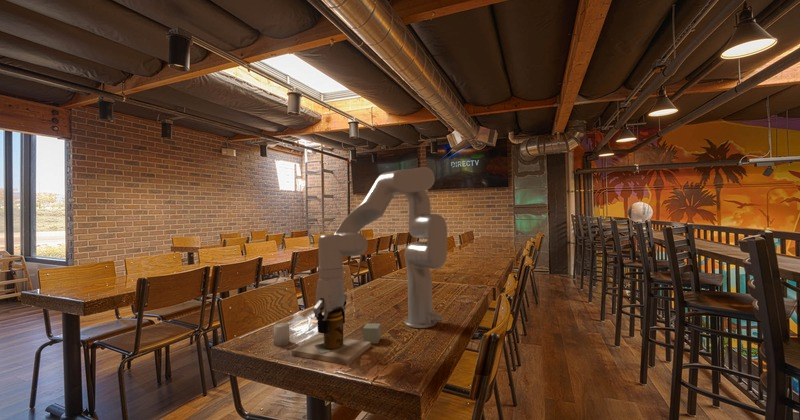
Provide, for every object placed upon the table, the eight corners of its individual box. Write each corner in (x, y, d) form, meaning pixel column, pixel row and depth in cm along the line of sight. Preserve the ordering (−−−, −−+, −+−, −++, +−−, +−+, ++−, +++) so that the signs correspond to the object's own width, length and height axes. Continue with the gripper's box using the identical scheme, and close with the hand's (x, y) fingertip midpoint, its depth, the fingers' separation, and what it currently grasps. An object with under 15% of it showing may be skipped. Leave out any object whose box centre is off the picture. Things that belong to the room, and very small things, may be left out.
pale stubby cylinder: (292, 341, 114) (292, 323, 114) (282, 346, 109) (282, 328, 109) (281, 339, 116) (280, 322, 116) (270, 344, 111) (270, 326, 111)
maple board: (370, 346, 108) (370, 341, 108) (348, 364, 95) (348, 359, 95) (318, 339, 115) (318, 334, 115) (291, 355, 102) (291, 350, 102)
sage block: (380, 338, 115) (380, 323, 115) (378, 343, 110) (377, 328, 110) (366, 337, 116) (366, 323, 116) (363, 343, 111) (363, 328, 111)
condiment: (348, 347, 104) (347, 308, 104) (321, 354, 99) (321, 313, 99) (339, 340, 110) (338, 303, 110) (313, 346, 105) (313, 308, 105)
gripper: (335, 268, 115) (336, 318, 114) (303, 277, 99) (304, 335, 98) (354, 269, 112) (355, 320, 112) (325, 279, 96) (326, 338, 96)
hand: (331, 327), depth 105 cm, fingers open, 9 cm apart
